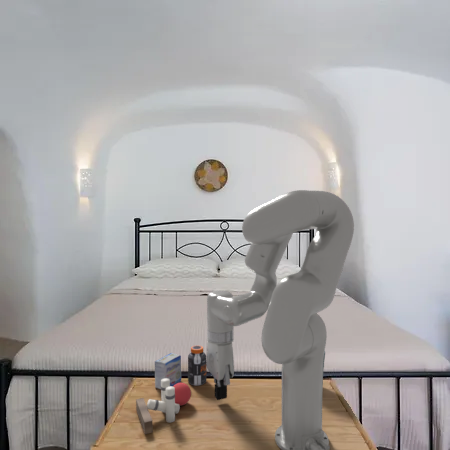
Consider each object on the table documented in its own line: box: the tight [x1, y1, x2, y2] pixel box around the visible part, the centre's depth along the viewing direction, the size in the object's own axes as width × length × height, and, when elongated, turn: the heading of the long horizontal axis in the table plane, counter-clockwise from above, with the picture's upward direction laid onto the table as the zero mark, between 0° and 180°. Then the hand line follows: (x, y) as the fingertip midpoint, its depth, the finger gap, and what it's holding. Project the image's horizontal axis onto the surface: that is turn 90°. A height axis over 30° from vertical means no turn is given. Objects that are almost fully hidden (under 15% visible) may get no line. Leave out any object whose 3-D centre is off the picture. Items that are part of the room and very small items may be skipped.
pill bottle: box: [187, 345, 207, 386], centre depth 120 cm, size 6×6×11 cm
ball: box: [173, 382, 192, 406], centre depth 106 cm, size 6×6×6 cm
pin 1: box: [160, 378, 170, 414], centre depth 103 cm, size 2×2×8 cm
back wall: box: [135, 397, 154, 435], centre depth 99 cm, size 12×2×3 cm, turn 23°
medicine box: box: [154, 352, 182, 390], centre depth 118 cm, size 8×4×9 cm, turn 148°
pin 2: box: [165, 386, 176, 423], centre depth 99 cm, size 2×2×8 cm
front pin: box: [146, 398, 181, 415], centre depth 101 cm, size 2×2×8 cm
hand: (220, 397), depth 107 cm, fingers closed
